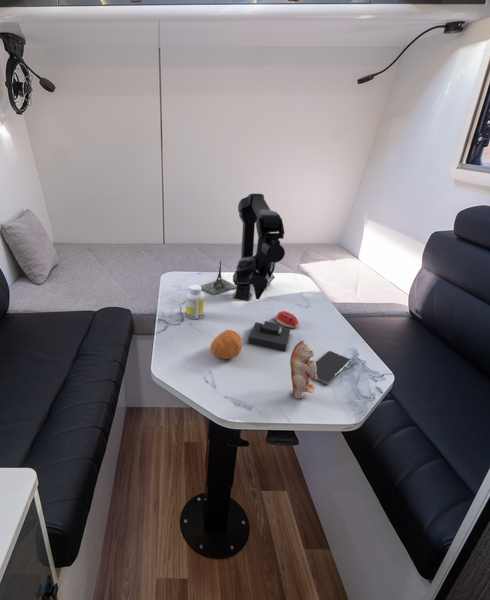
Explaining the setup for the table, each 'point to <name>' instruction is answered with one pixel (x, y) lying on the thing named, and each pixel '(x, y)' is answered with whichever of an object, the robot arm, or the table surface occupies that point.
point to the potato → (227, 344)
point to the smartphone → (330, 366)
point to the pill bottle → (194, 302)
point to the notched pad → (269, 338)
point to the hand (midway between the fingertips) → (259, 293)
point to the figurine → (302, 370)
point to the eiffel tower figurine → (218, 285)
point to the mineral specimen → (270, 279)
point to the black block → (271, 328)
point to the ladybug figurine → (287, 319)
